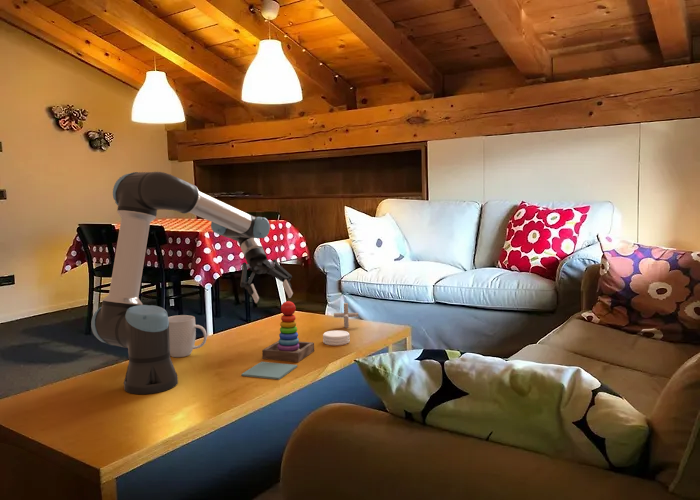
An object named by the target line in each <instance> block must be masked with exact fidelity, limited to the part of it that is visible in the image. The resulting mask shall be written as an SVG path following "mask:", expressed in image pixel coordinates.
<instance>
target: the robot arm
mask: <svg viewBox="0 0 700 500" xmlns="http://www.w3.org/2000/svg"><path fill="white" fill-rule="evenodd" d="M112 197H113V200H114V202H115V203H114V204H116V205H117V210H116V213H117V214H118V215H119V216H120V225H119V231H118V237H117V243H116V247H115V248H116V249H115V255H114V260H113V261H114V262H113V268H112V274H111V281H110V286H109V291H108V295H107V296H105V297H104V298H103V299H102V302H101V306H100V307H98V308H97V310H96V311H95V312H94V313H93V315H92V317H91V322H90V323H91V325H90V327H91V332H92V334H93V336H94V337H95V338H96V339H97V340H99V341H100V342H101V343H104V344H107V345H109V346H115V347H121V348H127V349H128V350H127V353H128V365H127V369H126V373H125V377H124V380H123V388H124V389H123V390H124V391H125V392H127V393H129V394H134V395H147V394H148V395H149V394H157V393H161V392H164V391H168V390H170V389H173V388H174V387H176V386H177V385H178V384H179V380H178V379H179V377H178V373H177V372H176V368H175V366H174V363H173V361H172V359H171V355H170V339H169V320H168V317H169V315H168V312H167V310H166V309H165V308H164V307H161V306H158V305H153V304H151V305H148V304H143V302H142V301H141V300H140V298H139V297H140V296H139V295H140V290H141V284H142V278H143V277H142V276H143V271H144V270H143V269H144V264H145V257H146V251H147V244H148V238H149V232H150V226H151V225H150V224H151V223H152V222H153V221H154V220H156V218H157V215H158V211H160V210H161V211H165V210H168V211H175V212H178V213H181V214H189V213H190V214H192V215H194V216H196V217H199V218H202V219H204V220H206V221H209V222H211V223H210V228H211V231H213V233H215V234H217V235H218V236H223V237H225V238H228V239H231V240H233V241H236V242H237V243H238V244H239V248H240V250H241V252H242V254H243V256H244V258H245V259H244V260H245V261H246V262H245V261H244V262H243V263H242V265H241V277H240V285H239V286H240V288H244V289H245V290H247V292H248V294H249V295H250V296H251V297H252V299H253V302H254V303H255V304H258V302H259V300H260V296H259V294H258V291H257V290H256V287H255V285H254V283H252V282H253V279H254V277H255V275H256V274H257V275H261V274H267V275H270V276H271V277H274V278H275V279H277V280H279V281H280V282H282V286H283V288H284V291H285V293H286V295H287V298H288V299H291V298H292V296H293V294H294V292H293V289H292V284H291V282H290V281H291V280H292V278H293V276H292V274H291V273H289V272H288V271H287V270H286V269H285V268H284V267H283V266H282V265H280V264H279V263H278V261H277V260H276V259H275V258H274V259H273V260H272V261H269V260H268V257H267V254H266V252H265V250H264V248H263V245H262V243H261V241H260V239H264V238H266V237H267V236H268V235H269V233H270V230H271V226H270V222H269V220H268V218H266V217H265V216H264V217H262V216H254V215H252V214H250V213H247V212H245V211H243V210H240V209H238V208H237V207H234V206H232V205H230V204H228V203H226V202H224V201H221V200H220V199H217V198H215V197H213V196H210V195H208V194H206V193H204V192H202V191H200V190H199V189H198V186H196V185H194V183H193V184H192V183H191V182H188V181H186V180H184V179H183V178H179V177H177V176H175V175H172V174H170V173H167V172H163V171H147V172H146V171H145V172H143V171H142V172H141V171H139V172H137V171H136V172H135V171H134V172H130V173H125V174H123V175H122V176H120V177H119V178H118V179H117V180H116V181H115V183H114V185H113V189H112ZM248 269H250V271H252V272H251V274H250V276H249V278H248V280H247V273H248V272H247V271H248ZM246 280H247V281H246Z"/></svg>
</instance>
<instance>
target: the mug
mask: <svg viewBox="0 0 700 500" xmlns="http://www.w3.org/2000/svg"><path fill="white" fill-rule="evenodd" d="M168 320H169V339H170V357H172V358H184V357H188V356H190V355H191V354H192V352H193V350H197V349H200V348H202V347H203V346H204V345H206V342H207V338H208V335H207V331H206V329H205V327H203V326H202V325H200V324H196V317H195V316H194V315H187V314H180V315H178V314H177V315H172V316H168ZM197 329H198V330H199V329H200V331H201V332H202V334H203V340H202V342H201V343H200V344H198V345H195V343H196V339H197V336H196V335H197V332H196V331H197Z"/></svg>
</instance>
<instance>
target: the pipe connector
mask: <svg viewBox="0 0 700 500" xmlns="http://www.w3.org/2000/svg"><path fill="white" fill-rule="evenodd" d="M333 318H343V327H344V328H346V329H348V328H349V325H350V324H349V323H350V322H349V318H359V312H349V303H348V302H344V303H343V312H334V313H333Z"/></svg>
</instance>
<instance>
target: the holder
mask: <svg viewBox="0 0 700 500" xmlns="http://www.w3.org/2000/svg"><path fill="white" fill-rule="evenodd" d="M278 344H279V340H277V341H276V342H274V343H272V344H271V345H269V346H267V347H265V348H263V349H262V351H261V354H262V359H263V360H272V361H273V360H274V361H283V362H284V361H285V362H286V361H287V362H294V363H297V362H298V363H299V362H301V361H302V360H303V359H305V358H306V357H307V356H309V355H310V354H312V353H313V352H314V351H315V342H313V341H312V342H311V341H310V342H309V341H300V340H299V342H298V344H299V349H300V350H299V351H297V352H292V351H280V350H279V349H278Z"/></svg>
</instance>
